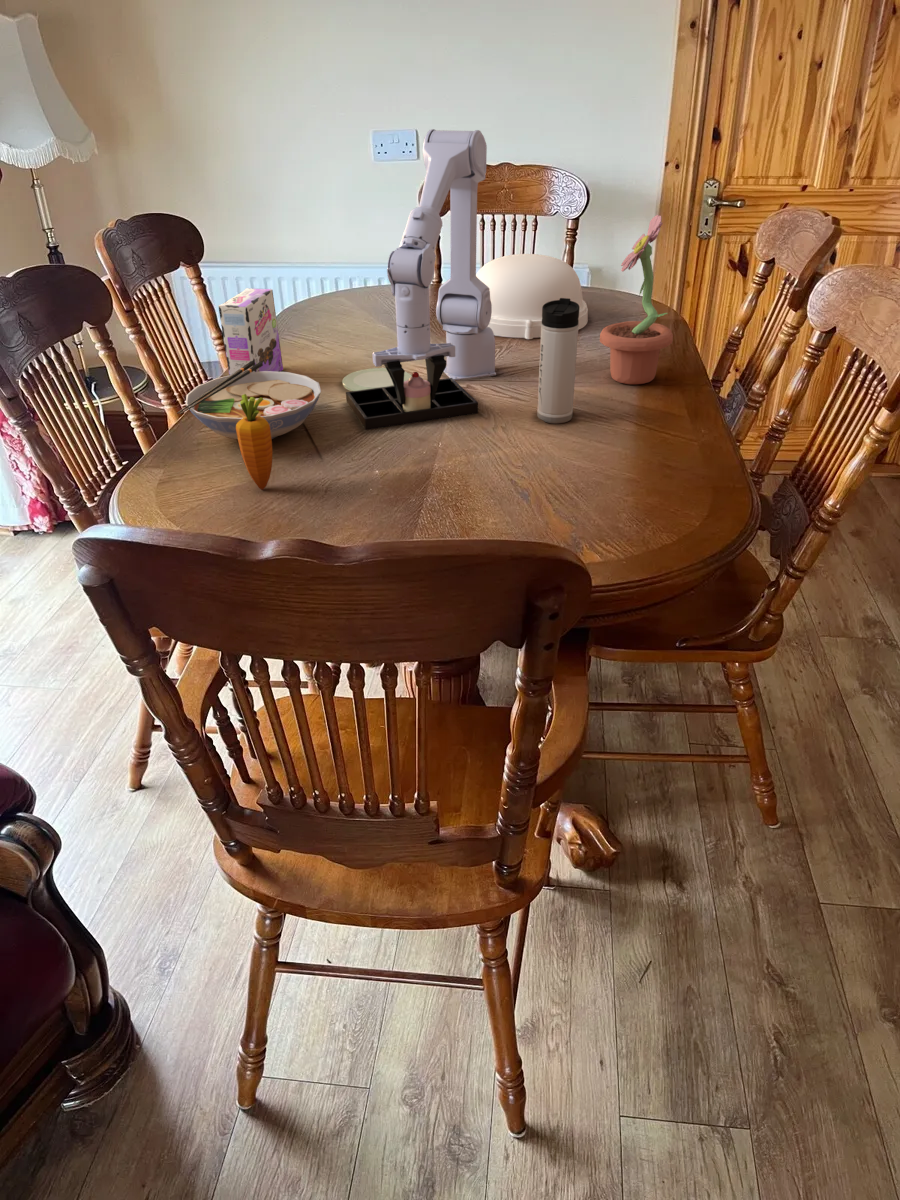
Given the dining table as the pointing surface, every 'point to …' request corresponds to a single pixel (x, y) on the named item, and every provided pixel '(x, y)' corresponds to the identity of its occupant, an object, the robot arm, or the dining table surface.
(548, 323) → the travel mug
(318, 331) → the dining table surface
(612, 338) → the decorative flower
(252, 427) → the carrot
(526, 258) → the dome cover
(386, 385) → the plate
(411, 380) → the cupcake
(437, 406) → the black compartment tray
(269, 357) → the candy box
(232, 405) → the ramen bowl
